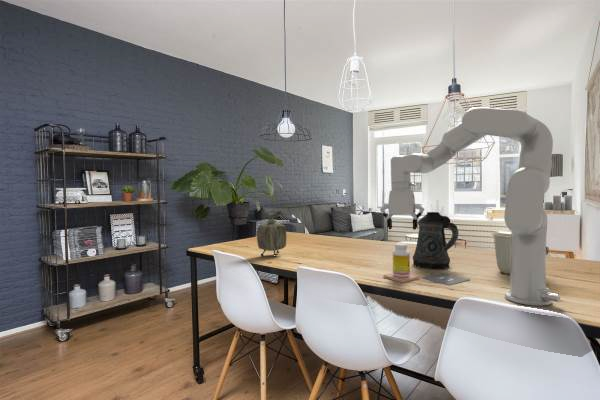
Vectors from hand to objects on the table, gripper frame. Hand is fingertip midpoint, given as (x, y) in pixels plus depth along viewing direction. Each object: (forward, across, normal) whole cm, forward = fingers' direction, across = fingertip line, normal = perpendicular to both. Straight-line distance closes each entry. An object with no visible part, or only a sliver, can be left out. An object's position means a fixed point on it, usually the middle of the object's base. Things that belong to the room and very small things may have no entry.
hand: (402, 229), depth 142 cm
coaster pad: (+20, +1, 0) cm, 20 cm away
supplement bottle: (+19, +1, 0) cm, 19 cm away
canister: (+21, -40, -28) cm, 54 cm away
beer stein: (+20, -8, -30) cm, 37 cm away
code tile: (+20, -15, -6) cm, 26 cm away
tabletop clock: (+18, +75, -19) cm, 79 cm away
